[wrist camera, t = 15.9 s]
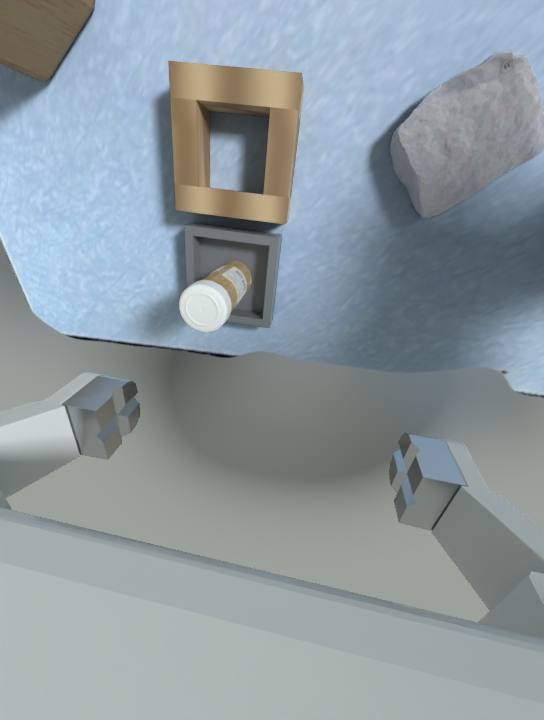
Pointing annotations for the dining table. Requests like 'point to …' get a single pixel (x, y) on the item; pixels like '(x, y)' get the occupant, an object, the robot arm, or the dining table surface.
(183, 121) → the oak bore block
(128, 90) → the dining table surface
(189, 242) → the tray
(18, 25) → the wooden block
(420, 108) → the stone block
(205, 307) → the sprinkles bottle
